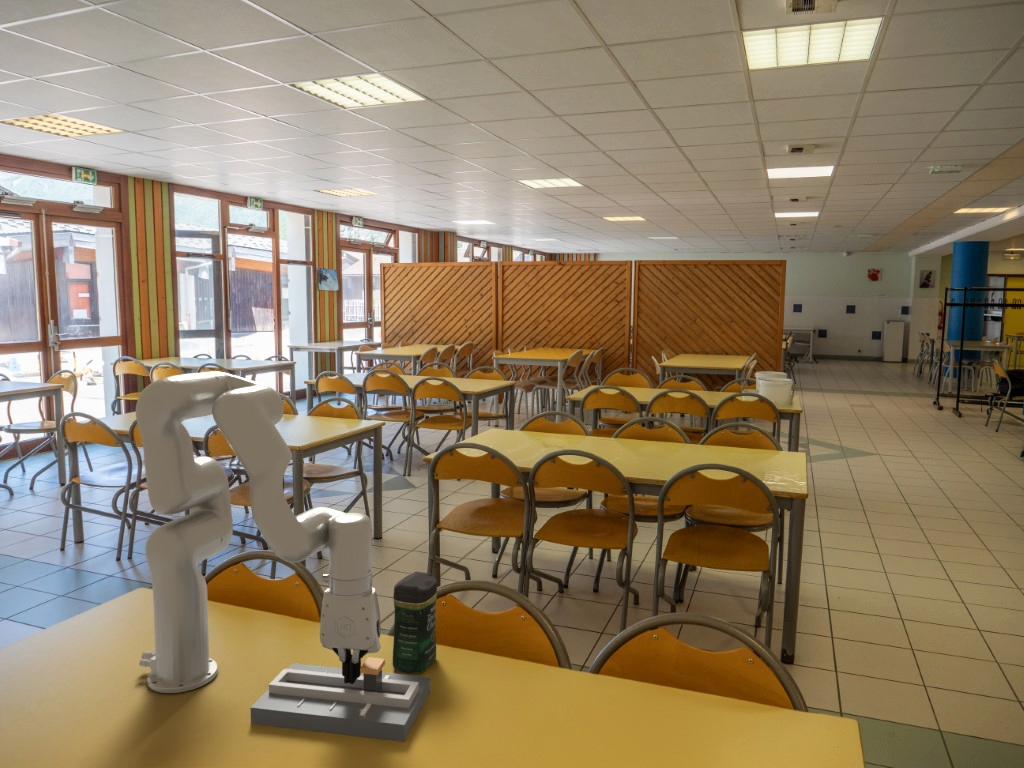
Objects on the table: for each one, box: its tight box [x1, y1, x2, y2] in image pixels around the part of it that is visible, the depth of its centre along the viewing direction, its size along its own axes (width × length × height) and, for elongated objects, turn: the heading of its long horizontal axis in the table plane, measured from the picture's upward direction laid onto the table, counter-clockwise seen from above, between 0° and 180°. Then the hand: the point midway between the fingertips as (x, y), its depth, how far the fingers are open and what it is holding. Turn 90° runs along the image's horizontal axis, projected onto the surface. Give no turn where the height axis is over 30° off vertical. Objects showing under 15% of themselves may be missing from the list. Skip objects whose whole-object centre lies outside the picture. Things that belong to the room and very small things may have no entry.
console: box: [250, 662, 431, 743], centre depth 131 cm, size 28×16×5 cm, turn 81°
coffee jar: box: [392, 571, 438, 675], centre depth 146 cm, size 10×8×19 cm
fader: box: [360, 656, 386, 693], centre depth 129 cm, size 3×4×6 cm
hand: (351, 679), depth 130 cm, fingers closed
